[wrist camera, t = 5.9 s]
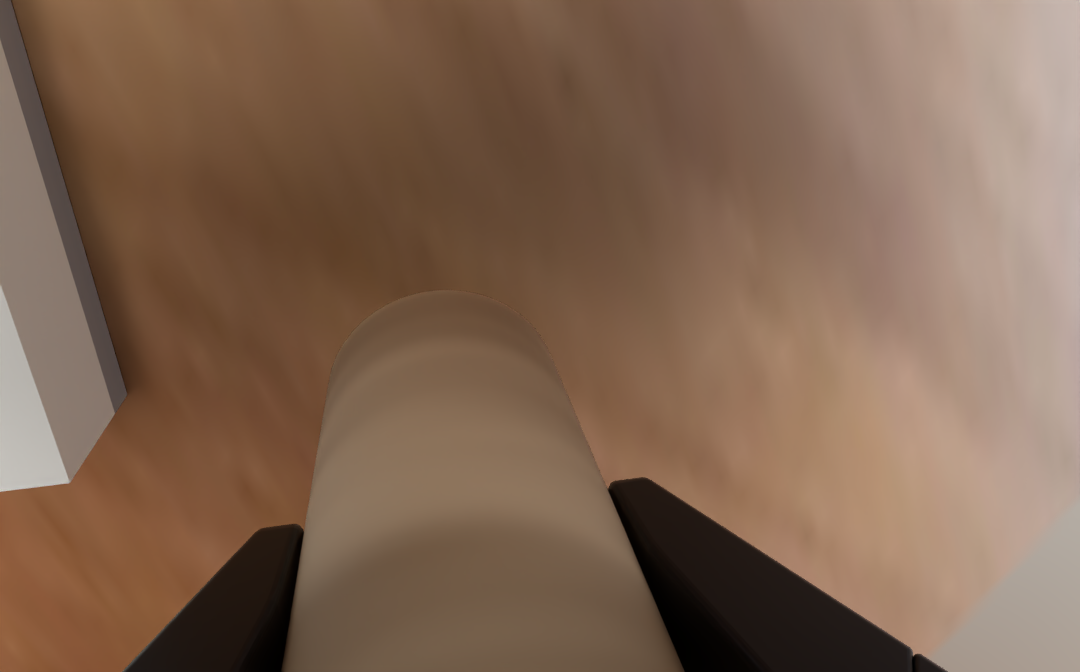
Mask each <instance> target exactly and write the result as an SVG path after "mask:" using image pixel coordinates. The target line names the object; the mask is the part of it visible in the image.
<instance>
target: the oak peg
mask: <svg viewBox="0 0 1080 672" xmlns="http://www.w3.org/2000/svg"><path fill="white" fill-rule="evenodd" d="M281 672H685V671H684V669H683V667H682V664H681V662H680V659H679V657H678V655H677V652H676V650H675V648H674V645H673V643H672V641H671V638H670V636H669V633H668V631H667V629H666V626H665V624H664V622H663V619H662V617H661V615H660V612H659V610H658V607H657V605H656V603H655V600H654V598H653V596H652V593H651V591H650V589H649V586H648V584H647V582H646V579H645V577H644V574H643V572H642V570H641V567H640V565H639V563H638V560H637V558H636V556H635V553H634V551H633V548H632V546H631V544H630V541H629V539H628V537H627V534H626V532H625V530H624V527H623V525H622V522H621V520H620V518H619V515H618V513H617V511H616V508H615V506H614V504H613V501H612V499H611V496H610V494H609V492H608V489H607V487H606V485H605V482H604V480H603V478H602V475H601V473H600V470H599V468H598V466H597V463H596V461H595V459H594V456H593V454H592V452H591V449H590V447H589V444H588V442H587V440H586V437H585V435H584V433H583V430H582V428H581V426H580V423H579V421H578V418H577V416H576V414H575V411H574V409H573V407H572V404H571V402H570V400H569V397H568V395H567V393H566V390H565V388H564V385H563V383H562V381H561V378H560V376H559V374H558V371H557V369H556V367H555V364H554V362H553V359H552V357H551V355H550V352H549V350H548V348H547V346H546V344H545V342H544V341H543V339H542V337H541V336H540V334H539V333H538V332H537V331H536V329H535V328H534V327H533V326H532V325H531V323H529V322H528V321H527V320H526V319H525V318H524V317H523V316H522V315H521V314H519V313H518V312H516V311H515V310H513V309H512V308H510V307H509V306H507V305H505V304H503V303H501V302H499V301H497V300H495V299H492V298H489V297H487V296H484V295H481V294H476V293H471V292H467V291H457V290H434V291H428V292H422V293H417V294H413V295H410V296H406V297H403V298H401V299H398V300H396V301H394V302H391V303H389V304H387V305H385V306H384V307H382V308H380V309H378V310H377V311H375V312H374V313H372V314H371V315H370V316H369V317H367V318H366V319H365V320H363V321H362V322H361V323H360V324H359V325H358V326H357V327H356V328H355V329H354V330H353V331H352V333H351V334H350V335H349V337H348V338H347V339H346V341H345V342H344V343H343V345H342V347H341V349H340V350H339V352H338V354H337V356H336V358H335V361H334V364H333V366H332V369H331V373H330V378H329V383H328V389H327V395H326V401H325V407H324V413H323V419H322V426H321V432H320V438H319V444H318V450H317V456H316V462H315V468H314V474H313V480H312V486H311V492H310V499H309V505H308V511H307V517H306V523H305V529H304V535H303V541H302V547H301V553H300V559H299V565H298V572H297V578H296V584H295V590H294V596H293V602H292V608H291V614H290V620H289V626H288V632H287V638H286V645H285V651H284V657H283V663H282V669H281Z"/></svg>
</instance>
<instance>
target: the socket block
mask: <svg viewBox="0 0 1080 672" xmlns="http://www.w3.org/2000/svg"><path fill="white" fill-rule="evenodd" d="M126 396H127V392H126V389H125V385H124V382H123V379H122V375H121V372H120V368H119V365H118V362H117V358H116V355H115V351H114V348H113V345H112V341H111V338H110V335H109V331H108V328H107V324H106V321H105V318H104V314H103V311H102V307H101V304H100V301H99V297H98V294H97V291H96V287H95V284H94V280H93V277H92V274H91V270H90V267H89V263H88V260H87V257H86V253H85V250H84V247H83V243H82V240H81V236H80V233H79V230H78V226H77V223H76V219H75V216H74V213H73V209H72V206H71V202H70V199H69V196H68V192H67V189H66V186H65V182H64V179H63V175H62V172H61V169H60V165H59V162H58V158H57V155H56V152H55V148H54V145H53V142H52V138H51V135H50V131H49V128H48V125H47V121H46V118H45V114H44V111H43V108H42V104H41V101H40V98H39V94H38V91H37V87H36V84H35V81H34V77H33V74H32V70H31V67H30V64H29V60H28V57H27V54H26V50H25V47H24V43H23V40H22V37H21V33H20V30H19V26H18V23H17V20H16V16H15V13H14V9H13V6H12V3H11V0H0V492H1V491H10V490H18V489H26V488H34V487H42V486H50V485H58V484H66V483H70V482H71V481H72V479H73V478H74V476H75V474H76V473H77V471H78V470H79V468H80V467H81V465H82V464H83V462H84V461H85V459H86V458H87V456H88V454H89V453H90V451H91V450H92V448H93V447H94V445H95V444H96V442H97V441H98V439H99V438H100V436H101V435H102V433H103V431H104V430H105V428H106V427H107V425H108V424H109V422H110V421H111V419H112V418H113V416H114V415H115V413H116V412H117V410H118V408H119V407H120V405H121V404H122V402H123V401H124V399H125V398H126Z"/></svg>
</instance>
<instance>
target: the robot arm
mask: <svg viewBox="0 0 1080 672" xmlns="http://www.w3.org/2000/svg"><path fill="white" fill-rule="evenodd" d="M608 492H609V494H610V496H611V499H612V501H613V504H614V506H615V508H616V511H617V513H618V515H619V518H620V520H621V522H622V525H623V527H624V530H625V532H626V534H627V537H628V539H629V541H630V544H631V546H632V548H633V551H634V553H635V556H636V558H637V560H638V563H639V565H640V567H641V570H642V572H643V574H644V577H645V579H646V582H647V584H648V586H649V589H650V591H651V593H652V596H653V598H654V600H655V603H656V605H657V607H658V610H659V612H660V615H661V617H662V619H663V622H664V624H665V626H666V629H667V631H668V633H669V636H670V638H671V641H672V643H673V645H674V648H675V650H676V652H677V655H678V657H679V659H680V662H681V664H682V667H683V669H684V671H685V672H948V671H946V670H944V669H943V668H941V667H940V666H938V665H937V664H935V663H934V662H932V661H931V660H929V659H927V658H926V657H924V656H923V655H921V654H915V655H914V656H913V651H912V649H911V648H910V647H908V646H907V645H905V644H904V643H902V642H901V641H899V640H898V639H896V638H894V637H893V636H891V635H890V634H888V633H887V632H885V631H884V630H882V629H881V628H879V627H877V626H876V625H874V624H873V623H871V622H870V621H868V620H867V619H865V618H864V617H862V616H860V615H859V614H857V613H856V612H854V611H853V610H851V609H850V608H848V607H847V606H845V605H843V604H842V603H840V602H839V601H837V600H836V599H834V598H833V597H831V596H830V595H828V594H826V593H825V592H823V591H822V590H820V589H819V588H817V587H816V586H814V585H813V584H811V583H809V582H808V581H806V580H805V579H803V578H802V577H800V576H799V575H797V574H796V573H794V572H792V571H791V570H789V569H788V568H786V567H785V566H783V565H782V564H780V563H779V562H777V561H775V560H774V559H772V558H771V557H769V556H768V555H766V554H765V553H763V552H762V551H760V550H758V549H757V548H755V547H754V546H752V545H751V544H749V543H748V542H746V541H744V540H743V539H741V538H740V537H738V536H737V535H735V534H734V533H732V532H731V531H729V530H727V529H726V528H724V527H723V526H721V525H720V524H718V523H717V522H715V521H714V520H712V519H710V518H709V517H707V516H706V515H704V514H703V513H701V512H700V511H698V510H697V509H695V508H693V507H692V506H690V505H689V504H687V503H686V502H684V501H683V500H681V499H680V498H678V497H676V496H675V495H673V494H672V493H670V492H669V491H667V490H666V489H664V488H663V487H661V486H659V485H658V484H656V483H655V482H653V481H652V480H650V479H648V478H645V477H640V478H633V479H626V480H618V481H613V482H612V483H611V484H610V486H609V488H608ZM303 535H304V531H303V529H302V528H301V527H300V525H298V524H289V525H281V526H274V527H266V528H262V529H260V530H258V531H257V532H255V533H254V534H253V535H252V536H251V538H250V539H249V540H248V541H247V542H246V543H245V544H244V545H243V546H242V547H241V548H240V549H239V550H238V551H237V552H236V553H235V554H234V555H233V556H232V557H231V558H230V559H229V561H228V562H227V563H226V564H225V565H224V566H223V567H222V568H221V569H220V570H219V571H218V572H217V573H216V574H215V575H214V576H213V577H212V578H211V579H210V580H209V581H208V582H207V584H206V585H205V586H204V587H203V588H202V589H201V590H200V591H199V592H198V593H197V594H196V595H195V596H194V597H193V598H192V599H191V600H190V601H189V602H188V603H187V604H186V605H185V607H184V608H183V609H182V610H181V611H180V612H179V613H178V614H177V615H176V616H175V617H174V618H173V619H172V620H171V621H170V622H169V623H168V624H167V625H166V626H165V627H164V628H163V630H162V631H161V632H160V633H159V634H158V635H157V636H156V637H155V638H154V639H153V640H152V641H151V642H150V643H149V644H148V645H147V646H146V647H145V648H144V649H143V650H142V651H141V653H140V654H139V655H138V656H137V657H136V658H135V659H134V660H133V661H132V662H131V663H130V664H129V665H128V666H127V667H126V668H125V669H124V670H123V671H122V672H281V669H282V663H283V657H284V651H285V645H286V638H287V632H288V626H289V620H290V614H291V608H292V602H293V596H294V590H295V584H296V578H297V572H298V565H299V559H300V553H301V547H302V541H303Z"/></svg>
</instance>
